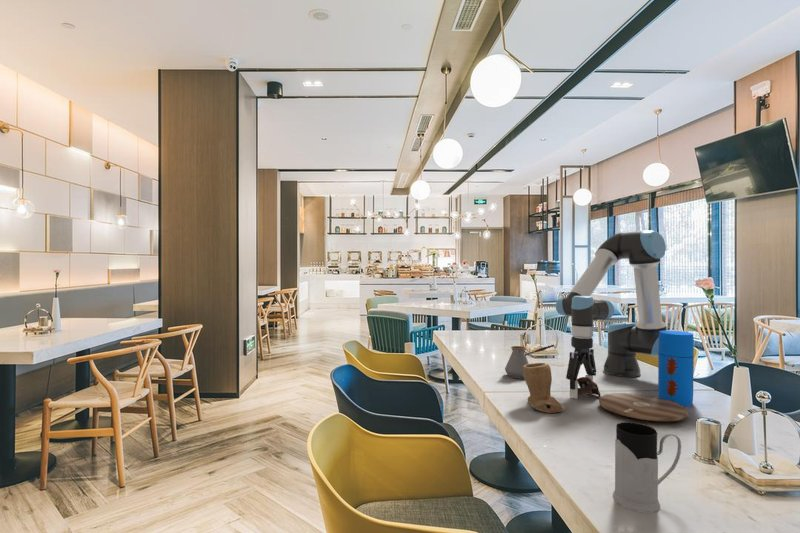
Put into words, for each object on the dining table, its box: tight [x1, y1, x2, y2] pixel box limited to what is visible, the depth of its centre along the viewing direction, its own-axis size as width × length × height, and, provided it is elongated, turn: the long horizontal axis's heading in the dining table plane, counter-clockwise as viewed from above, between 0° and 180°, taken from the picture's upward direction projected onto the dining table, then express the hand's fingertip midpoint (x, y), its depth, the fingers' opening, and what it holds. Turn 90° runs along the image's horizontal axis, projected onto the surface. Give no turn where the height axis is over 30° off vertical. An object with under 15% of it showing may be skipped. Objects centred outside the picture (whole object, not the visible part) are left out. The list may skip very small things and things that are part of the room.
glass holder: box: [612, 421, 682, 513], centre depth 90 cm, size 9×14×15 cm, turn 95°
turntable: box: [598, 392, 689, 422], centre depth 145 cm, size 26×26×1 cm
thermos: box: [657, 330, 695, 407], centre depth 157 cm, size 11×11×25 cm
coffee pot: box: [504, 344, 556, 379], centre depth 190 cm, size 21×12×15 cm, turn 71°
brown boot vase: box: [523, 362, 565, 414], centre depth 150 cm, size 15×12×15 cm
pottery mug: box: [576, 376, 602, 399], centre depth 163 cm, size 12×10×8 cm
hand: (581, 395), depth 164 cm, fingers open, 11 cm apart
